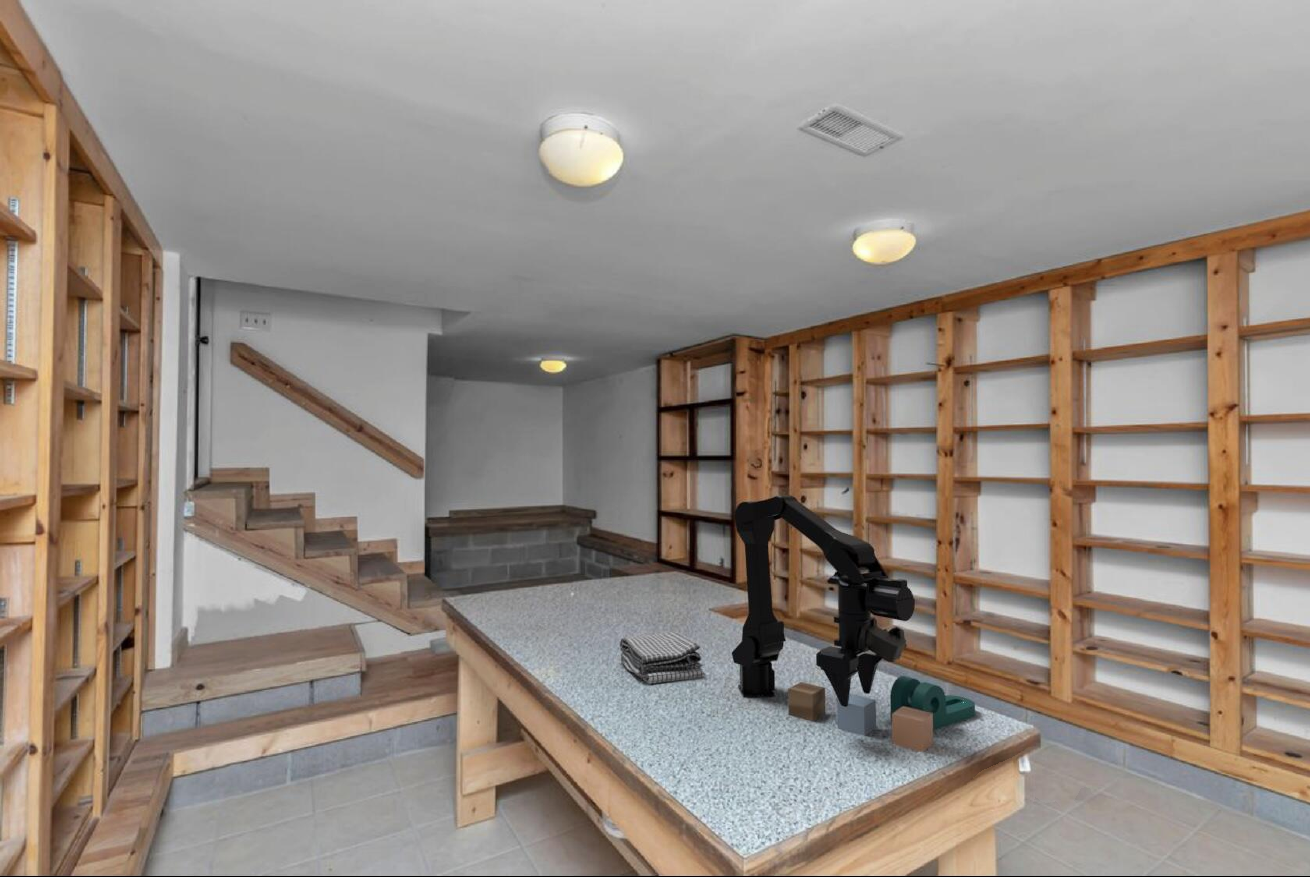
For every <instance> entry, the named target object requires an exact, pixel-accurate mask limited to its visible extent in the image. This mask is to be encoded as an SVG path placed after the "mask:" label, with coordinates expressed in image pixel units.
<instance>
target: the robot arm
mask: <svg viewBox="0 0 1310 877" xmlns="http://www.w3.org/2000/svg"><path fill="white" fill-rule="evenodd" d="M733 511H734V513H733V516H734V522H735V528H736V533H737V534H738V536H739V537H740V539H741V540H742V542H743V545H744V555H745V556H744V557H745V571H746V589H747V590H746V591H747V600H748V601H747V603H748V604H747V605H748V614H747V617H746V619H745V621H744V624H743V625H742V630H741V631H742V633H741V642H740V643H739V644H738V645H737V646H736V647H735V648H734V649H733V651H731V655H732V660H733V663H734V664H737V665H739V684H738V685H737V688H738V690H739V691H740V693H741V695H742V696H743V697H745V698H746V697H749V698H752V697H755V698H756V697H775V692H774V691H775V690H776V682H775V681H776V679H775V678H776V677H775V675H776V674H775V673H776V671H775V669H774V668H773V663H772V662H777V661H778V659H779V655H780V652H781V651H782V650H783V648H784V643H785V642H786V641H787V640H786V637H785V623H784V621H782V620H780V621H779V620H778V619H777V617H776V615H775V614H774V611H773V598H772V597H773V596H772V595H773V594H772V581H771V566H770V565H771V564H770V550H769V542H770V539H771V537H772V535H773V533H774V531H775V523H776V522H775V521H778V520H780V519H783V521H785V522H786V523H788V524H789V525H791V527H793V528H794V529H795V530H796V531H798V532H799V533H800V534H802V535H803V536H804V537H805V538H807V539H808V540H810V541H811V542H812V543H813V544H814V545H816V546H818V548H819V549H820V550H821V551H822V553H823V556H824V558H825V560H826V561H827V562H828V563H829V565H830V566H832V567H833V569H834V570H835V572H834V573H833V575H832V576H830V577H829V578H827V580H826V583H827V584H831V585H835V586H836V585H837V615H835V616H833V623H835V624H837V625H838V626H837V627H838V628H837V630H838V636H837V637H838V638H836V639H834V640H833V644H834V646H827V647H825V648H822V649H820V650H819V651H818V652H817V653H816V655H815V658H816V659H815V662H816V663H815V664H816V666H817V667H819V668H820V670H821V671H823V672H824V674H825V675H826V677H827V679H828V681H829V683H830V685H831V687H832V689H833V691H834V693H835V696H836V698H837V700H839V702H840V704H841V706H844V707H847V706H848V702H849V694H851V693H850V692H851V684H852V683H851V682H852V677H854V676H855V675H856V674H858V678H859V683H860V685H861V688H862V692H863V693H864V694H870V693H871V692H872V687H873V683H874V679H875V677H876V672H877V669H878V666H879V664H880V663H881V662H882V661H886V662H888V663H894V662H895V661H896V660H900V659H901V656H902V653H903V651H904V649H906V648H907V646H908V644H907V639H906V638H905V631H904V629H902V628H900V627H898V626H894V627H892V628H891V629H889V631H888V629H887V628H884V629H882V628H880V627H879V626H878V620H877V619H876V617H880V618H886V619H892V620H895V621H896V620H897V621H902V622H907V621H910V619H911V618H912V617H913V614H914V613H915V612H914V611H915V606H916V599H915V598H914V594H913V591H912V590H911V589H910V588H909V587H908V580H907V579H902V578H898V579H891V578H889V575H888V573H887V572H886V571H885V569H884V568H883V566H882V564H881V563H880V561H879V560H878V558H877V557H876V553H875V549H874V547H873V546H872V544H870V543H869V542H867V541H865V540H863V539H861V538H859V537H857V536H854V535H852V534H849V533H845V532H842V531H841V530H838V529H837V528H836V527H834V526H832V525H831V524H829V522H827V521H826V520H824V519H823V518H821V517H820V516H819V515H817V514H816V513H814V512H813V511H812V510H810V509H809V508H808V507H807V506H806V505H804V504H802V503H801V502H800V501H799V500H798V499H797V498H796V497H795V496H793V495H791V494H787V495H785V494H782V495H775V496H773V497H770V498H767V499H763V500H758V501H757V500H755V501H741V502H740V503H739V504H738V505H737V507H735V509H734V510H733Z"/></svg>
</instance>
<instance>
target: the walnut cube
mask: <svg viewBox="0 0 1310 877" xmlns="http://www.w3.org/2000/svg"><path fill="white" fill-rule="evenodd" d="M787 690H788V693H787V694H788V704H787V705H788V716H792V717H795V718H798V719H802V720H806V721H810V722H814V721H816V720H818V719H820V718H821V717H823V716H825V715H826V688H825V687H824V686H821V685H820V686H819V685H815V684H811V683H806V682H802V681H801V682H798V683H797V684H795V685H792V686H790V687H788V689H787Z"/></svg>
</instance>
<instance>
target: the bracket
mask: <svg viewBox="0 0 1310 877" xmlns="http://www.w3.org/2000/svg"><path fill="white" fill-rule="evenodd" d="M889 696H890V697H889V698H890V701H889V703H890V722H891V723H892V713H894V712H895V711H897V710H898V709H900V708H901V707H902V706H905V707H909V708H913V709H917V710H922V711H926V712H930V713H933V731H936V730H939V729H942V728H945V727H948V726H951V725H954V724H957V723H961V722H964V721H966V720H969V719H971V718H972V719H973V718H974V717H975V716H976V704H975V702H974V701H973V700H972V699H970V698H967V697H963V696H958V695H952V694H945V692H944V689H943V688H942V687H941V686H939V685H937V684H933V683H930V682H927V681H923V682H921V681H920V680H918V679H916V678H913V677H910V676H907V675H900V676H898V677H897V678H896V679H895V680H894V682H893V683H892V686H891V689H890V695H889ZM963 702H964V703H963Z"/></svg>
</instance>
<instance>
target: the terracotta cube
mask: <svg viewBox="0 0 1310 877" xmlns="http://www.w3.org/2000/svg"><path fill="white" fill-rule="evenodd" d="M891 732H892V734H891V735H892V737H891V739H892V740H891V741H892V745H895V746H899V747H902V748H906V749H910V750H912V751H913V750H914V751H917V752H921V753H924V752H925V751H926V750H927V749H928V748H930V747H931V745H933V743H934V730H933V713H930V712H926V711H922V710H917V709H913V708H909V707H905V706H902V707H901V708H900V709H898V710H897V711H895V712H894V713H892V722H891Z"/></svg>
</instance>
